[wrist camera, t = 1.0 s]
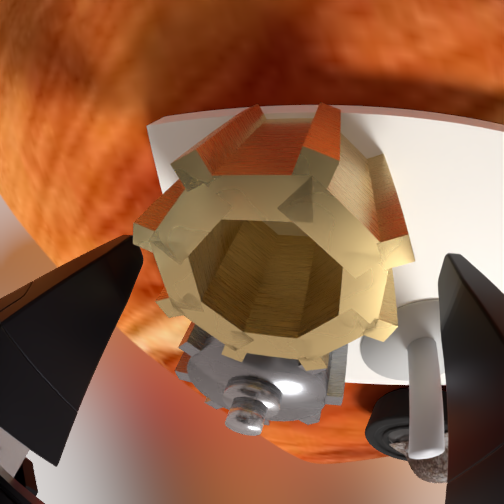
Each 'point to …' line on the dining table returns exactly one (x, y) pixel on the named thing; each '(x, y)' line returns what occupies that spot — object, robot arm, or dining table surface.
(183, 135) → the gear board
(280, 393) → the gear
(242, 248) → the brass gear
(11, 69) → the dining table surface
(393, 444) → the caster wheel
